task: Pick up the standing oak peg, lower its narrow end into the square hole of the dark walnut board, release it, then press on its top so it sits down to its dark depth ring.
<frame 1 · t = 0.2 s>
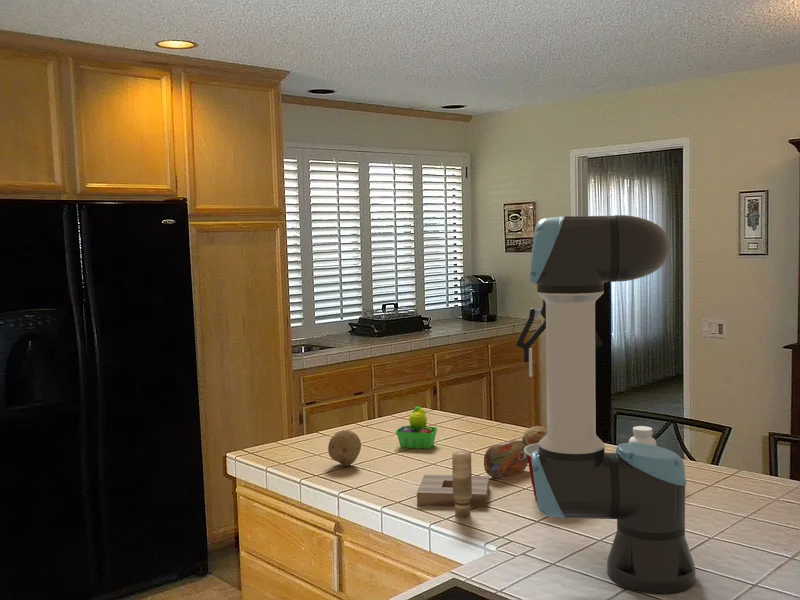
hand: (559, 376, 190), 28 cm above the countertop, tool pointing down, fingers open, 13 cm apart
peg: (462, 514, 176), on the countertop
fruit basket: (417, 446, 236), on the countertop
tin: (506, 475, 205), on the countertop
natural sponge: (345, 466, 216), on the countertop
bread roll: (539, 447, 231), on the countertop
board: (454, 496, 188), on the countertop
supplement bottle: (642, 479, 199), on the countertop
plastic cup: (547, 499, 185), on the countertop
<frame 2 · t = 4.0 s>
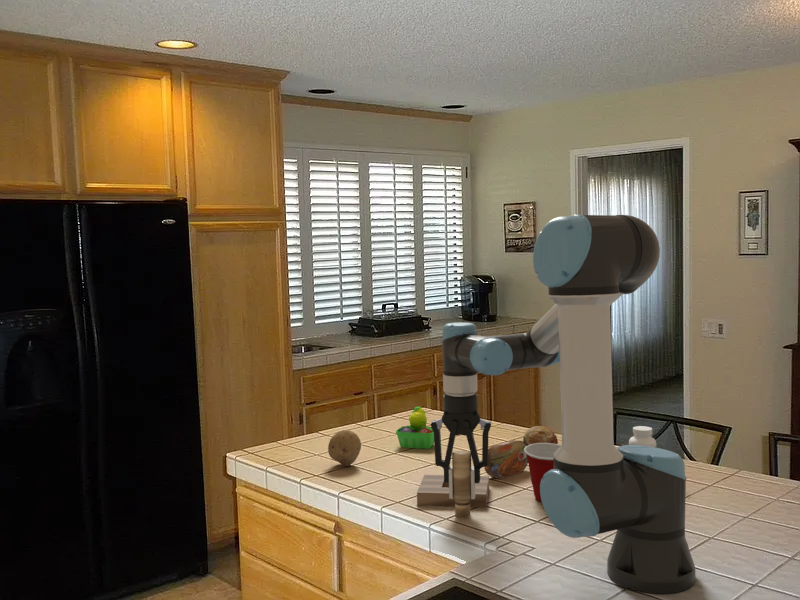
hand: (462, 496, 175), 4 cm above the countertop, tool pointing down, fingers closed on peg, 4 cm apart
peg: (462, 514, 176), on the countertop, touching gripper
everything else where it was.
when the fingers open (6 cm above the countertop, at t = 8.3 s): peg drops 1 cm, resting in board.
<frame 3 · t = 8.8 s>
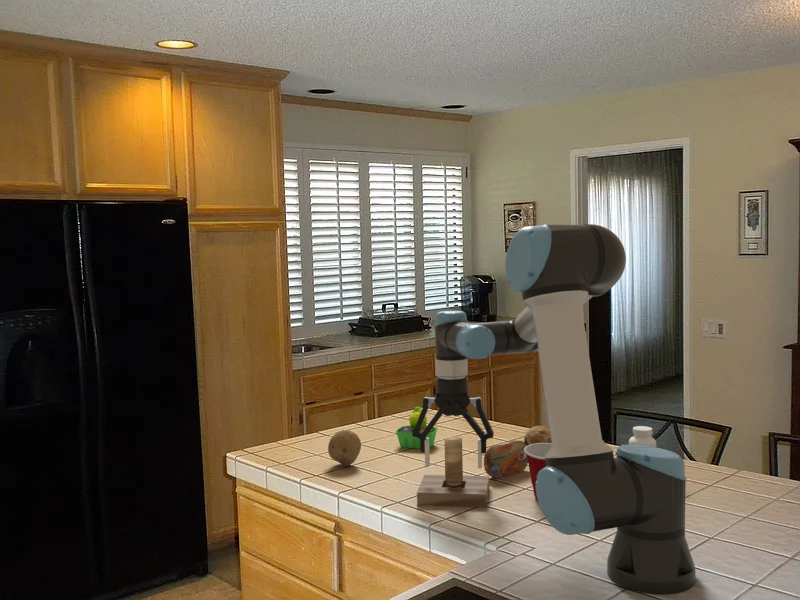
hand: (453, 466, 188), 7 cm above the countertop, tool pointing down, fingers open, 12 cm apart
peg: (454, 496, 188), resting in board
everything else where it was.
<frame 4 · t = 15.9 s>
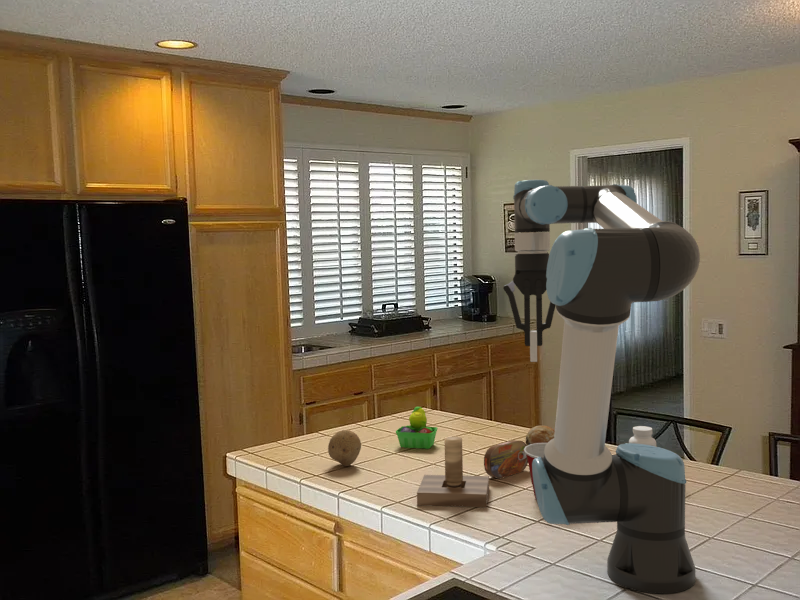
hand: (533, 360, 172), 34 cm above the countertop, tool pointing down, fingers closed
at the end: peg 0.0 cm off-centre on the board, point 0.0 cm above the board's base; peg tilted 0°; the gripper is holding nothing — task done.
